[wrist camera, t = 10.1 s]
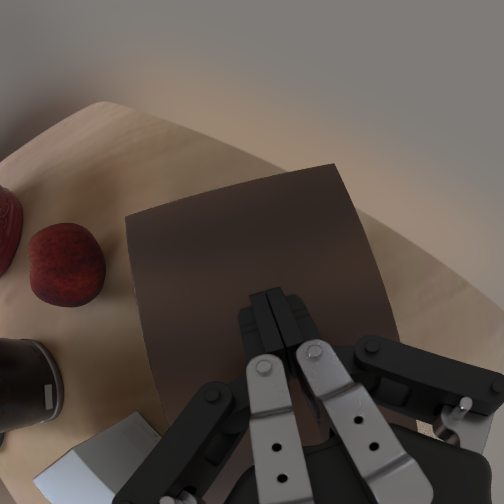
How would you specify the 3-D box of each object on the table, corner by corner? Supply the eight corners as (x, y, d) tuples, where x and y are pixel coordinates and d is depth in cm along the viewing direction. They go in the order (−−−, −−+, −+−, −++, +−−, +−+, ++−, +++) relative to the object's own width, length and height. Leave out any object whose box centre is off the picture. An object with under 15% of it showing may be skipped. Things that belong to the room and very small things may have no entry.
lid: (129, 221, 16) (124, 216, 15) (331, 169, 16) (334, 162, 16) (206, 502, 11) (204, 509, 10) (412, 438, 11) (419, 441, 11)
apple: (65, 240, 25) (18, 211, 17) (124, 235, 25) (81, 199, 17) (58, 309, 23) (5, 297, 15) (119, 313, 23) (67, 302, 15)
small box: (138, 409, 20) (72, 445, 10) (180, 453, 19) (139, 514, 9) (92, 445, 19) (28, 479, 9) (130, 485, 17) (80, 535, 7)
